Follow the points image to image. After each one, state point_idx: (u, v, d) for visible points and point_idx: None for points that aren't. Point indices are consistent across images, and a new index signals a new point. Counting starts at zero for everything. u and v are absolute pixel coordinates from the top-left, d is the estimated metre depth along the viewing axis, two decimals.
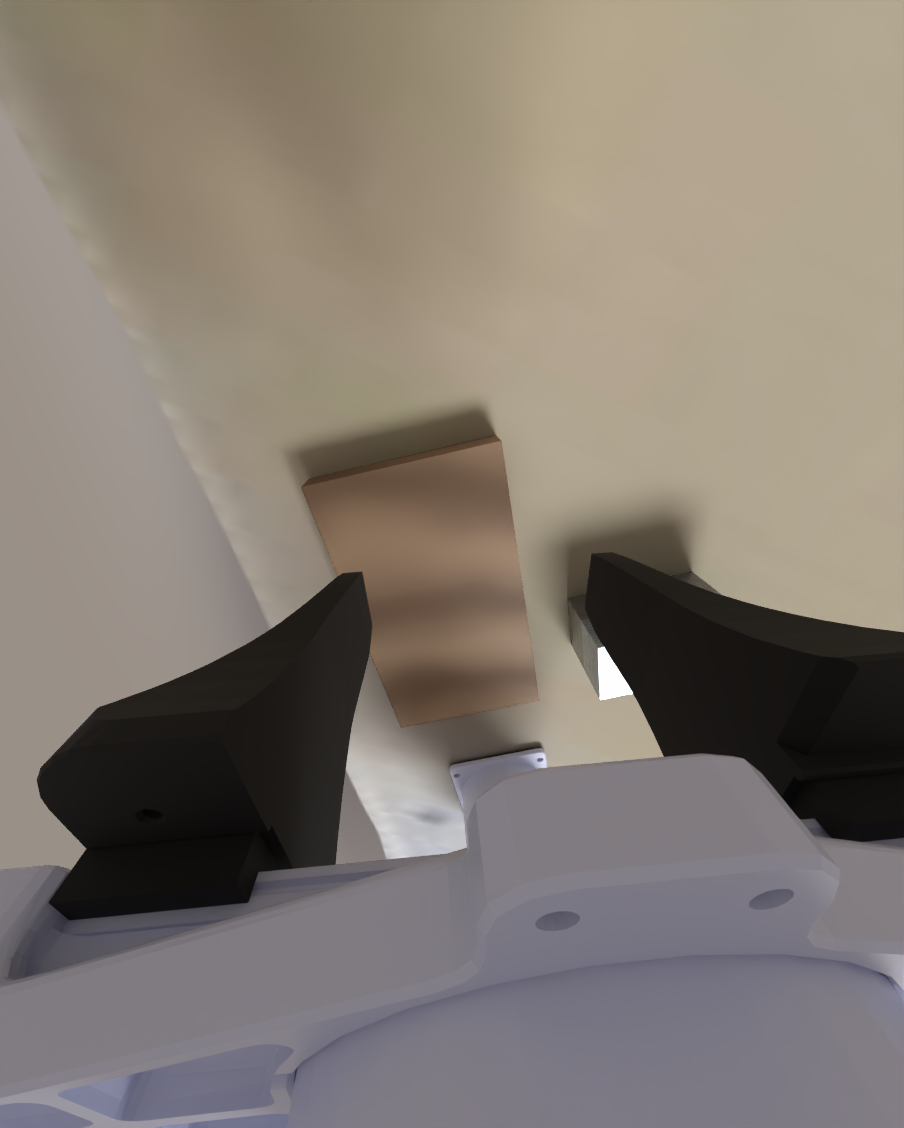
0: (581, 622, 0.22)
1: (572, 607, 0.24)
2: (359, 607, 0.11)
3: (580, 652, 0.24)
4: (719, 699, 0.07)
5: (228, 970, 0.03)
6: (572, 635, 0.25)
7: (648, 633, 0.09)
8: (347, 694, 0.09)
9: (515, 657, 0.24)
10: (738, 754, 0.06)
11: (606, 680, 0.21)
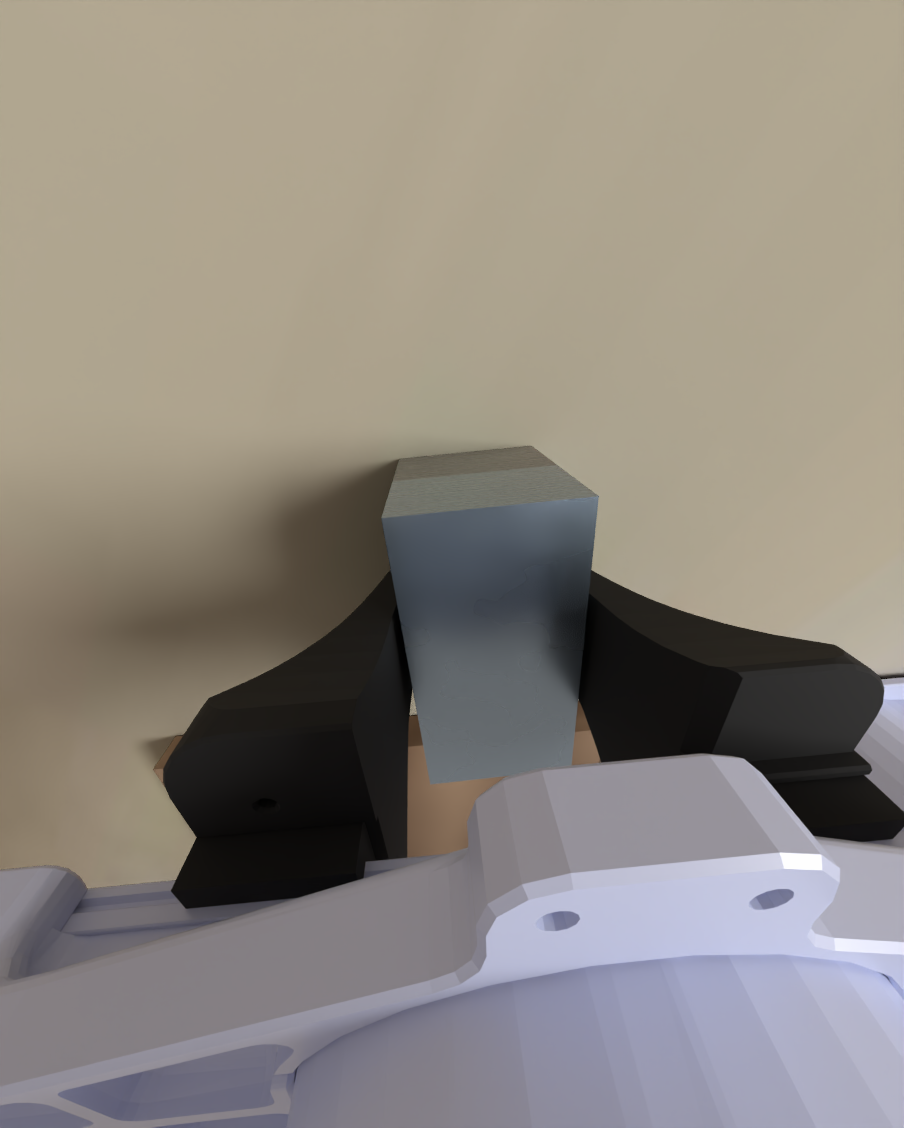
0: None
1: None
2: None
3: None
4: (639, 706, 0.07)
5: (229, 969, 0.03)
6: None
7: (587, 638, 0.09)
8: (406, 689, 0.09)
9: None
10: None
11: (519, 765, 0.10)
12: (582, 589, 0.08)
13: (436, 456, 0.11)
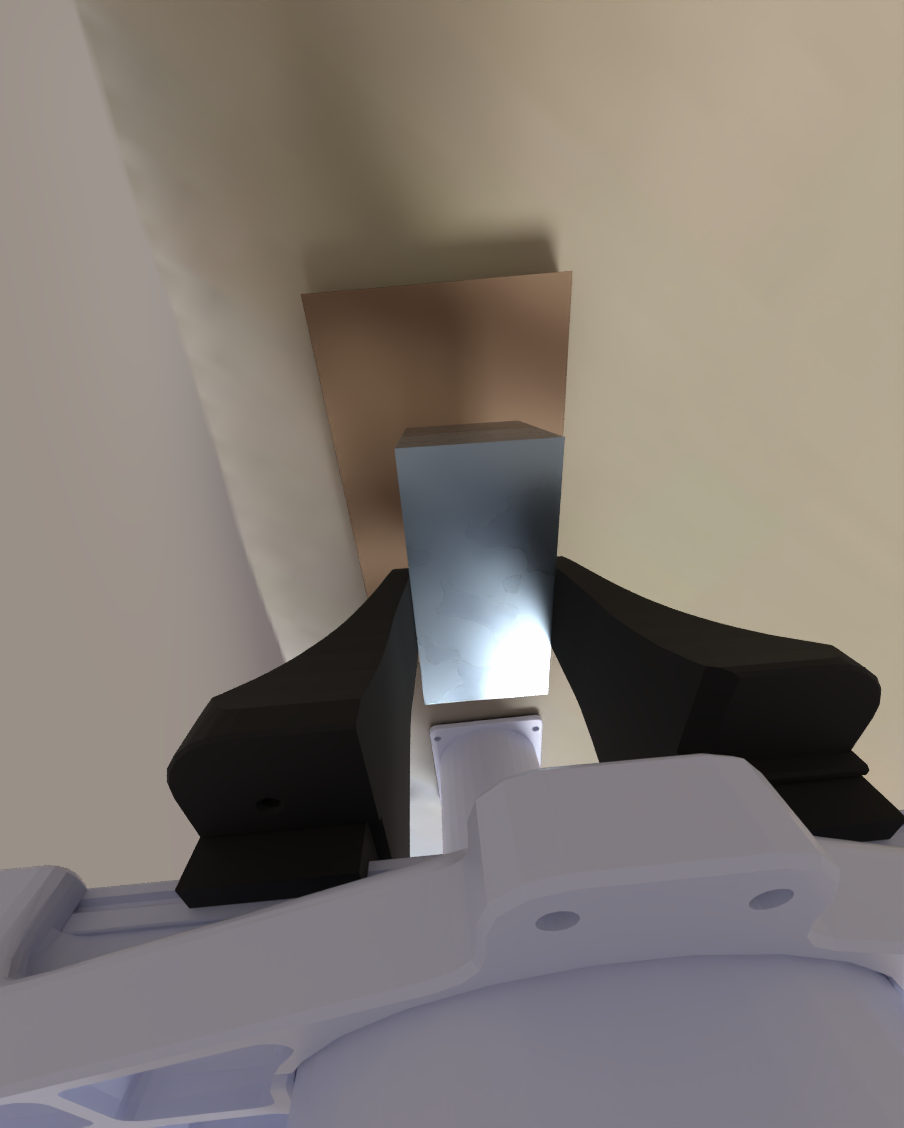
0: None
1: None
2: (412, 603, 0.11)
3: None
4: (636, 706, 0.07)
5: (228, 970, 0.03)
6: None
7: (585, 638, 0.09)
8: (407, 689, 0.09)
9: None
10: None
11: (502, 688, 0.12)
12: (553, 518, 0.10)
13: (437, 426, 0.13)
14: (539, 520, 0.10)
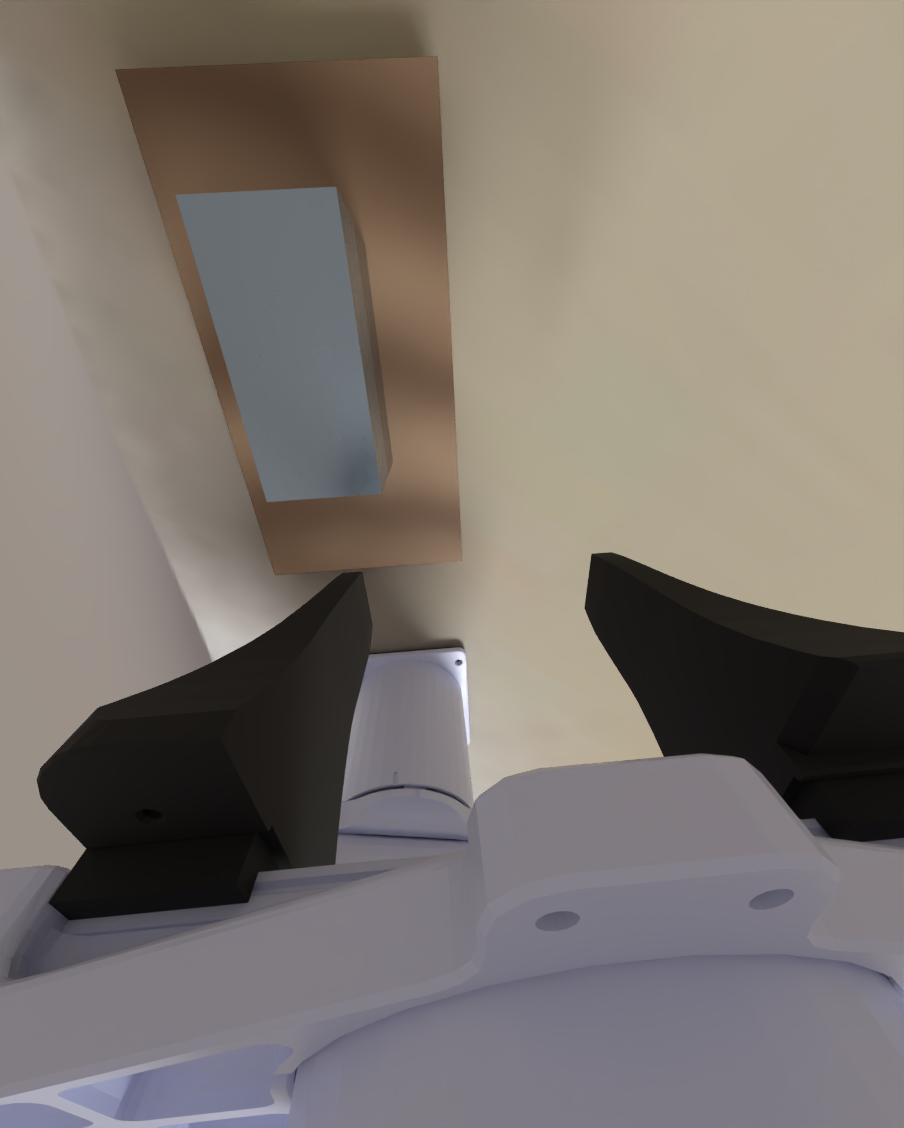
0: None
1: None
2: (359, 607, 0.11)
3: None
4: (719, 699, 0.07)
5: (228, 970, 0.03)
6: None
7: (648, 633, 0.09)
8: (347, 694, 0.09)
9: (435, 483, 0.18)
10: (738, 754, 0.06)
11: (337, 485, 0.13)
12: (344, 283, 0.10)
13: None
14: (332, 285, 0.10)
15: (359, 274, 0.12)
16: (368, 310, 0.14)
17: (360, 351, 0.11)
